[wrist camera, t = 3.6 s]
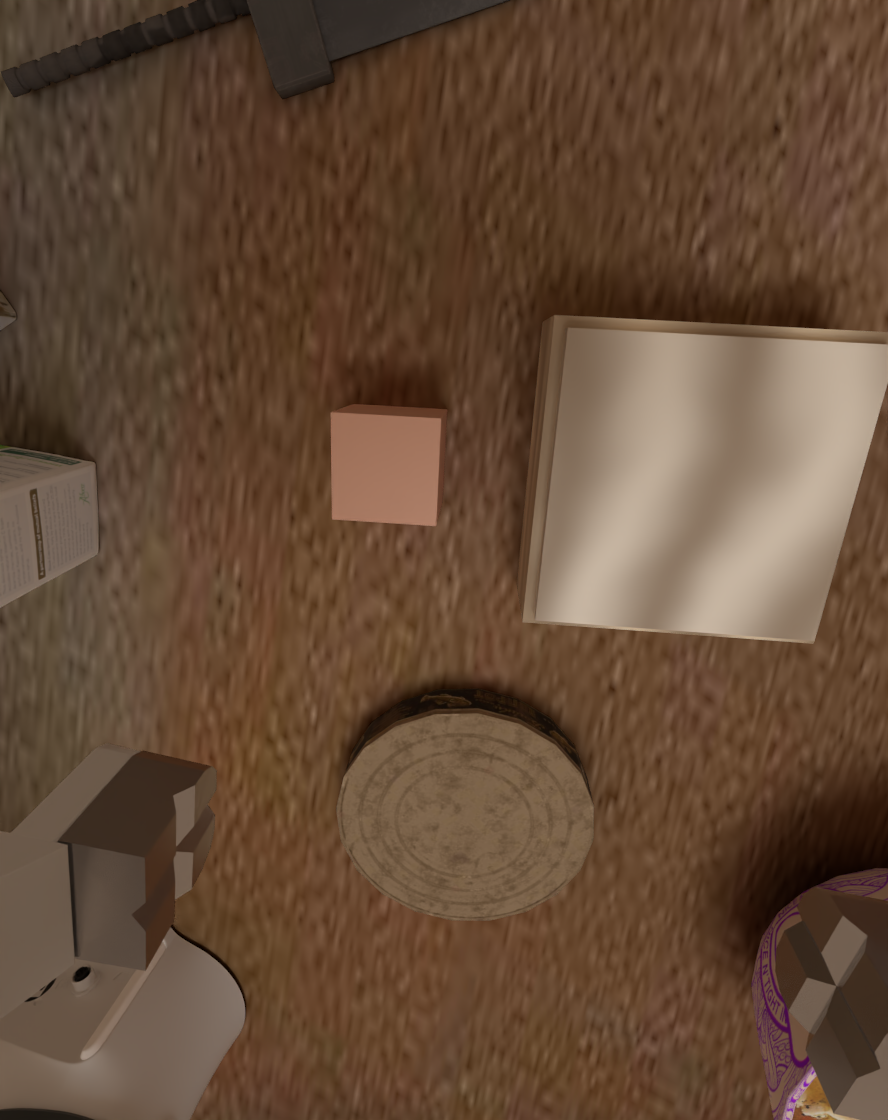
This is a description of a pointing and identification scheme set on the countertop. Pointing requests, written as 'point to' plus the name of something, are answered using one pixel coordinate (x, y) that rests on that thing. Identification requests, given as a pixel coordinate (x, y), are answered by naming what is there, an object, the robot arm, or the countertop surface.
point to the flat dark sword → (259, 36)
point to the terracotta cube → (388, 463)
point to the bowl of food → (781, 1036)
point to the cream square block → (694, 473)
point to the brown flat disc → (466, 805)
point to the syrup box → (44, 518)
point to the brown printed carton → (6, 312)
